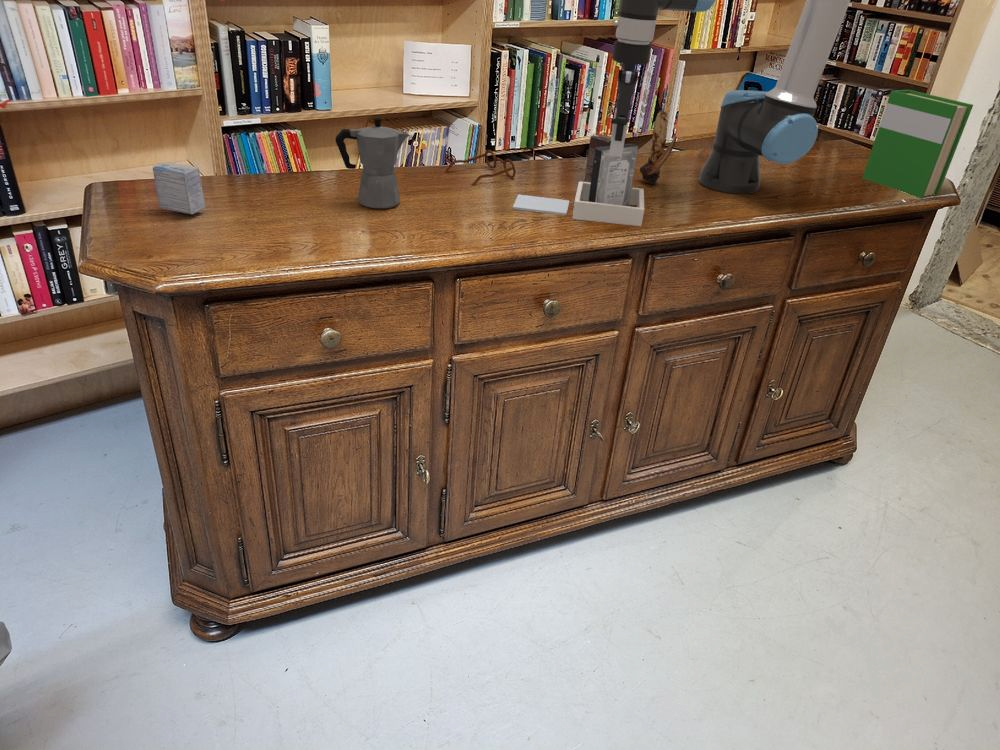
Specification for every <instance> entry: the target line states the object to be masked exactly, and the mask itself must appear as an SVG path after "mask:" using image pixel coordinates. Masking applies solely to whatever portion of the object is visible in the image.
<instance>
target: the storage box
mask: <svg viewBox="0 0 1000 750" xmlns="http://www.w3.org/2000/svg"><path fill="white" fill-rule="evenodd" d="M590 185H591V183H590V182H584V181H581V180H580V181H578V185H577V188H576V194H575V199H574V202H573V203H574V204H573V212H572V220H578V221H586V222H587V221H588V222H596V223H597V222H598V223H607V224H614V225H615V224H617V225H624V226H625V225H627V226H635V227H636V226H637V227H642V225H643V220H644V213H645V193H644V192H645V191H644V190H645V189H644V188H640V187H633V186H632V189H631V194H630V200H629V205H628V206H621V205H613V204H604V203H596V202H588V201H589V193H590ZM635 206H636V207H635Z"/></svg>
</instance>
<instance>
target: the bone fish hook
mask: <svg viewBox="0 0 1000 750" xmlns="http://www.w3.org/2000/svg"><path fill="white" fill-rule="evenodd" d="M667 118H668V114H667V112H666V111H664V110H659V112H658V113H657V115H656V117H655V121H654V125H653V130H652V136H651V146H650V152H649V156H648V159H647V162H646V163H645V164H643V165H642V166H641V167H640V168H639V172H640V173H641V175H642V180H643V181H644V182H647V183H648V184H651V185H655V184H656V182H657V181H658V179H659V178H660V174H661V167H663V165H664V163H666V160H667V159H668V158H669V156H670V155H671V153H672V151H673V149H674V147H675V145H676V143H677V135H675V136H674V137H673V139H672V140H671V142H670V143H669V144H668V146H667V147H666V149H665V146H666V140H667V134H668V133H667V132H668V119H667Z"/></svg>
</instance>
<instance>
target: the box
mask: <svg viewBox="0 0 1000 750" xmlns="http://www.w3.org/2000/svg"><path fill="white" fill-rule="evenodd" d="M610 145H611V136H607V135H604V134H595V135H590V138H589V145H588V146H589V147H588V152H587V153H588V154H587V159H586V160H587V161H586V168H585V175H584V181H583V182H590V183H591V178H592V171H593V161H594V156H595V148H596V147H603V146H610Z"/></svg>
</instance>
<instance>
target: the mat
mask: <svg viewBox="0 0 1000 750" xmlns="http://www.w3.org/2000/svg"><path fill="white" fill-rule="evenodd" d="M569 204H570V200H568V199H561V198H552V197H542V196H533V195H526V194H525V195H523V194H517V197H516V199H515V201H514V203H513V206H512V210H517V211H518V210H519V211H525V212H526V211H527V212H535V213H542V214H543V213H544V214H552V215H559V216H567V213H568V209H569V207H570V206H569Z"/></svg>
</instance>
